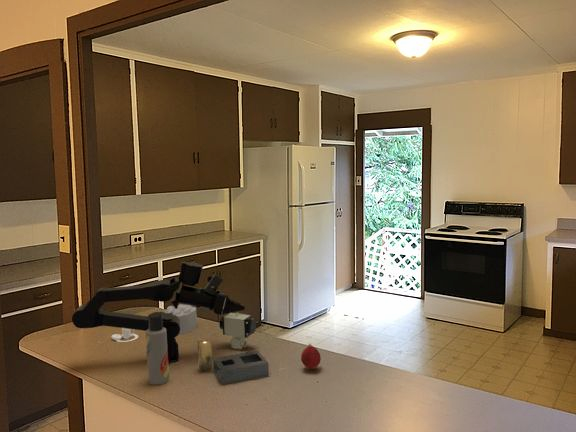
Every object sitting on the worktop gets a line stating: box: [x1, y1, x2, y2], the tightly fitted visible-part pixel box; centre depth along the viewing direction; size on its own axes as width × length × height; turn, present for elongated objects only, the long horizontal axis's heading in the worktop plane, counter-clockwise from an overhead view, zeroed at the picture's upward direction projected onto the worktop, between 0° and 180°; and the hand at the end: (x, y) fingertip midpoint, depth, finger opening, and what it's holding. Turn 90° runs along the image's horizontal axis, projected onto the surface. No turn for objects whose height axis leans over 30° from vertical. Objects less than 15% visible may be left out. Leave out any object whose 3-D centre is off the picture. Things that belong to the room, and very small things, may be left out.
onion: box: [300, 343, 322, 371], centre depth 146 cm, size 6×6×8 cm
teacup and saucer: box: [111, 328, 139, 343], centre depth 177 cm, size 9×8×4 cm
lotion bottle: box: [145, 311, 170, 386], centre depth 141 cm, size 6×6×20 cm
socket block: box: [212, 350, 270, 386], centre depth 145 cm, size 14×10×4 cm
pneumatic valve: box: [219, 312, 257, 350], centre depth 165 cm, size 6×12×12 cm, turn 66°
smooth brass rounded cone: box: [197, 337, 213, 373], centre depth 148 cm, size 4×4×9 cm
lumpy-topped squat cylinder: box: [164, 303, 198, 336], centre depth 184 cm, size 10×13×9 cm
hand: (242, 306), depth 160 cm, fingers open, 9 cm apart
